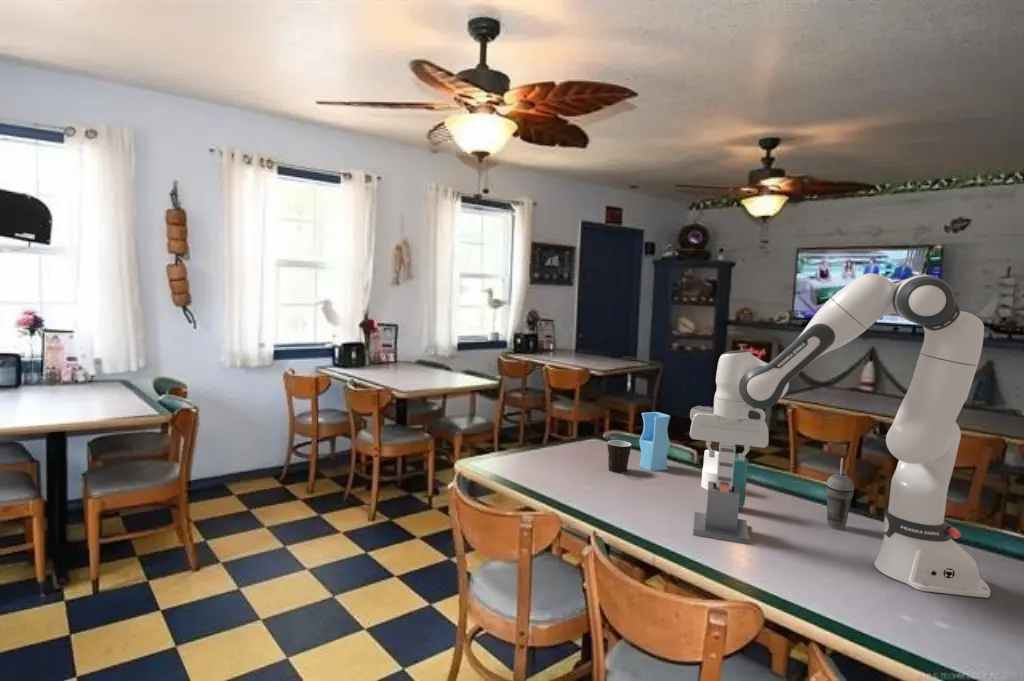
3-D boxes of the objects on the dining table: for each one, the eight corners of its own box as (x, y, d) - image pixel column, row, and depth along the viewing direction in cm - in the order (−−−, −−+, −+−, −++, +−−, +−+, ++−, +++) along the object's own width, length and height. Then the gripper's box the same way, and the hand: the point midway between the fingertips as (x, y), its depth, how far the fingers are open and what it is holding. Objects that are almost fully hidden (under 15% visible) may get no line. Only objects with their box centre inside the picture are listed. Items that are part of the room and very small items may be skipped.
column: (728, 521, 165) (734, 444, 163) (728, 527, 161) (735, 447, 159) (713, 519, 166) (719, 442, 165) (713, 524, 162) (719, 445, 160)
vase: (637, 465, 223) (641, 412, 221) (653, 463, 227) (657, 411, 225) (651, 471, 216) (655, 417, 214) (668, 469, 220) (672, 416, 218)
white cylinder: (695, 485, 202) (698, 451, 201) (711, 481, 208) (714, 448, 207) (718, 493, 195) (721, 458, 194) (734, 489, 200) (737, 454, 199)
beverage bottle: (746, 513, 178) (752, 448, 176) (722, 510, 179) (728, 445, 178) (742, 506, 184) (747, 443, 183) (719, 503, 186) (725, 440, 184)
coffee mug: (612, 465, 221) (613, 439, 220) (633, 470, 216) (635, 443, 215) (597, 472, 211) (599, 444, 211) (619, 477, 206) (621, 449, 206)
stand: (745, 525, 168) (749, 477, 167) (748, 544, 155) (753, 493, 154) (694, 516, 173) (698, 470, 172) (693, 534, 160) (697, 484, 158)
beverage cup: (823, 528, 169) (830, 460, 167) (820, 520, 176) (826, 454, 174) (852, 533, 166) (860, 464, 165) (847, 524, 173) (854, 457, 172)
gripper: (690, 406, 161) (686, 456, 163) (771, 415, 155) (767, 467, 156) (691, 403, 167) (687, 450, 169) (769, 411, 161) (764, 461, 162)
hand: (726, 458), depth 162 cm, fingers open, 6 cm apart
